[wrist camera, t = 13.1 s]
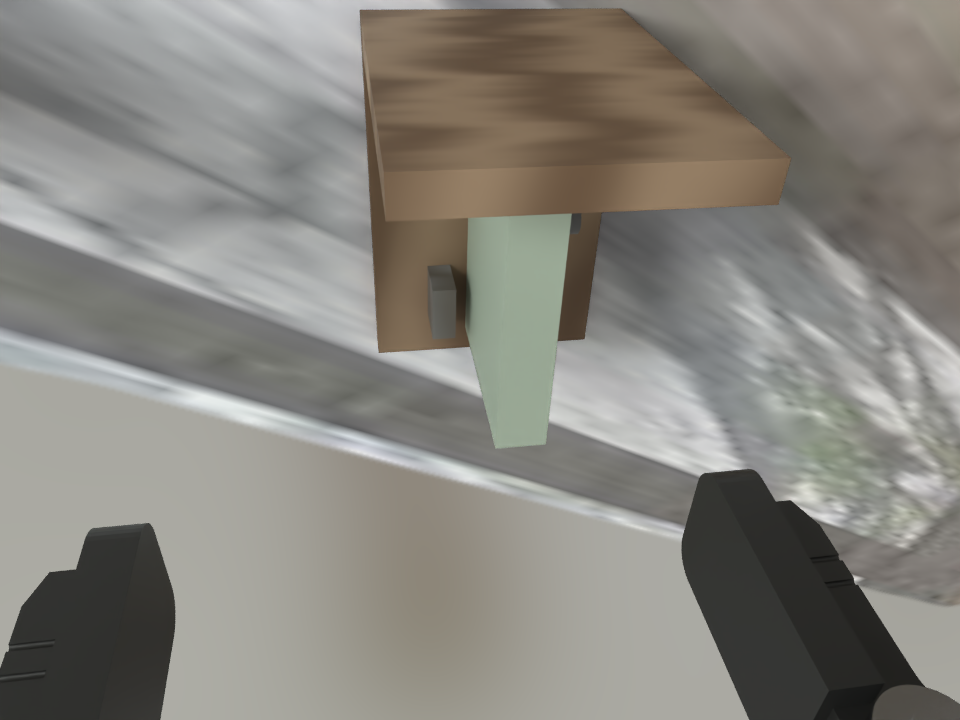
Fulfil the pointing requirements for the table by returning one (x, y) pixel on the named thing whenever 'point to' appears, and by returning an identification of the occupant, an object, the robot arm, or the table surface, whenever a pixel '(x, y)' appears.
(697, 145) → the wooden l-shaped stand
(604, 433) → the table surface
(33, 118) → the table surface
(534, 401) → the door
